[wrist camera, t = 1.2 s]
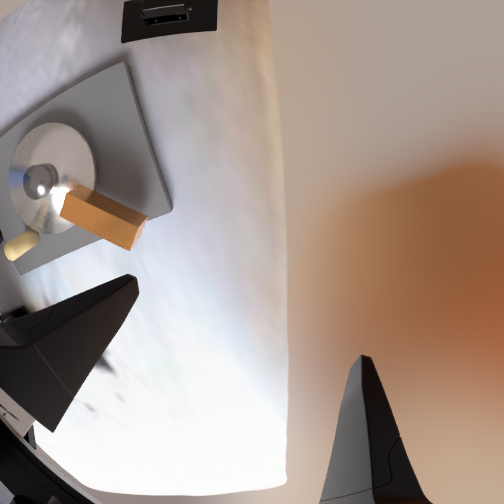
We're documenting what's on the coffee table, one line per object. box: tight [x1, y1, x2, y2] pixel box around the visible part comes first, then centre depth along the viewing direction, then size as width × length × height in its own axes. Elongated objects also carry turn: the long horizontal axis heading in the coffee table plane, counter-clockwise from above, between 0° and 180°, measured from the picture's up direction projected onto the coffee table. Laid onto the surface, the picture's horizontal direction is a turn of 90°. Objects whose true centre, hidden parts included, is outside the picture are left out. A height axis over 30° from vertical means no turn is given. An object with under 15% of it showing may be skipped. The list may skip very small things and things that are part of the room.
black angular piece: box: [121, 0, 218, 43], centre depth 17 cm, size 12×7×5 cm, turn 91°
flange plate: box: [9, 123, 148, 251], centre depth 19 cm, size 14×14×5 cm
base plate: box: [0, 61, 173, 276], centre depth 20 cm, size 20×15×6 cm
